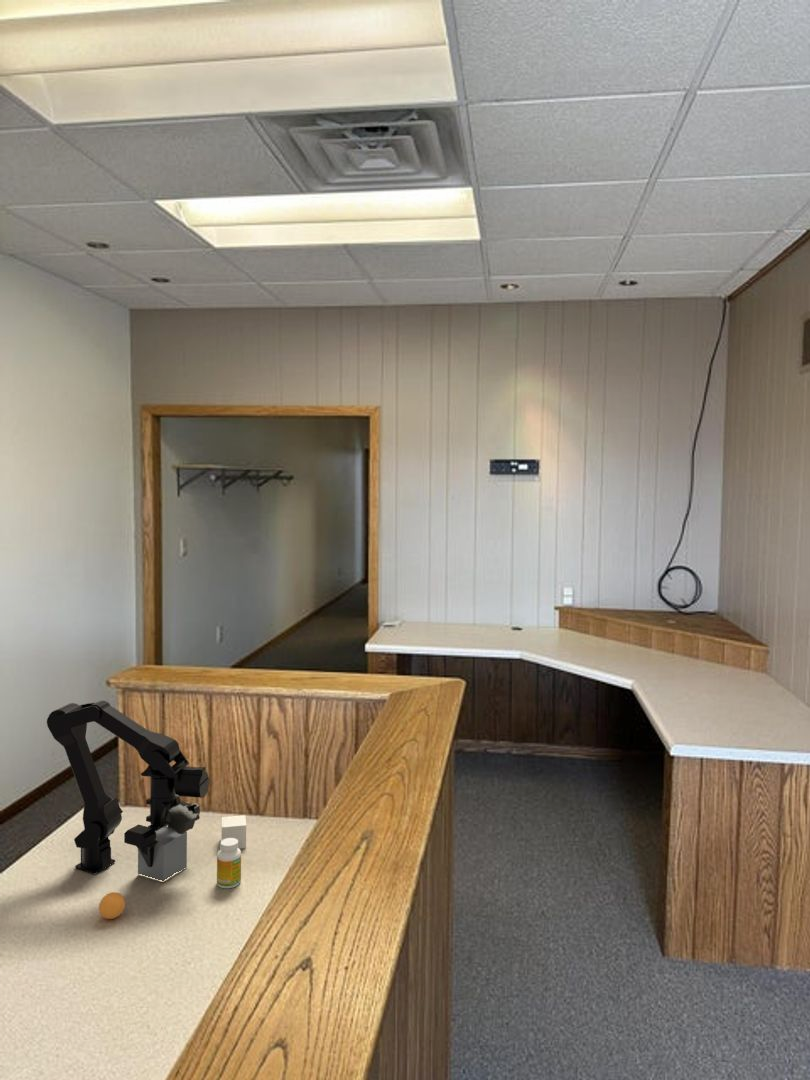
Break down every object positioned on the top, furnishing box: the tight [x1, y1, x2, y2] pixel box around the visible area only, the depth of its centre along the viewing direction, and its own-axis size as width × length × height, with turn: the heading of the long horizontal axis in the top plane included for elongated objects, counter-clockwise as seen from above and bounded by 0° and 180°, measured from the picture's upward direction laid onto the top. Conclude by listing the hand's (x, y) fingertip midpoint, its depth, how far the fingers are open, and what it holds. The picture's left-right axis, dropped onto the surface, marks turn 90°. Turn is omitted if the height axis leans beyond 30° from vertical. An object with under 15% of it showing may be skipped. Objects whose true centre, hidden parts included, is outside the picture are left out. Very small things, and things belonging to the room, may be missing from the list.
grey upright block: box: [137, 826, 188, 881], centre depth 169 cm, size 8×8×9 cm
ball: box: [98, 891, 126, 920], centre depth 151 cm, size 5×5×5 cm
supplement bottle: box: [216, 838, 242, 889], centre depth 165 cm, size 5×5×10 cm
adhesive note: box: [220, 814, 247, 850], centre depth 184 cm, size 6×6×6 cm
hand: (162, 859), depth 170 cm, fingers closed on grey upright block, 8 cm apart
